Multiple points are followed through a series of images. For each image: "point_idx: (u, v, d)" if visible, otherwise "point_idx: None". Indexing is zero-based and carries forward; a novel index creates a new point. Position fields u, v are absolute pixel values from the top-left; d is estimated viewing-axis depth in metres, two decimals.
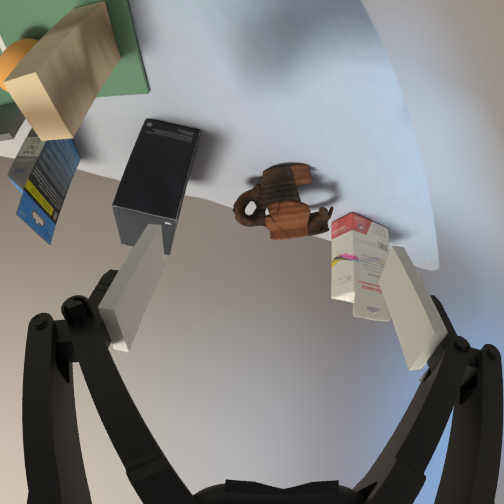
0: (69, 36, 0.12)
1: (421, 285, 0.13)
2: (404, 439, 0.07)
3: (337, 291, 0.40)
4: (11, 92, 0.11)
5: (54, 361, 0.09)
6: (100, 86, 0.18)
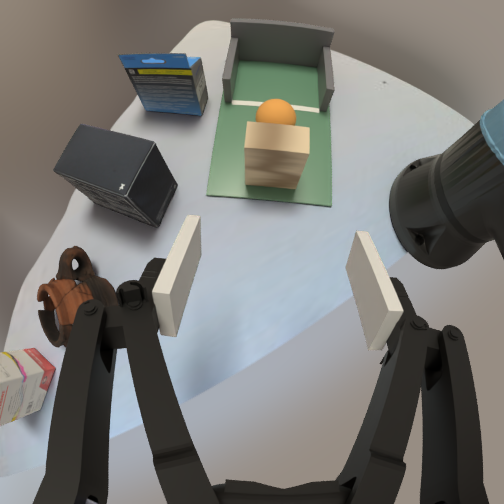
0: (301, 171, 0.30)
1: (380, 266, 0.14)
2: (375, 430, 0.08)
3: None
4: (299, 127, 0.27)
5: (99, 350, 0.10)
6: (247, 170, 0.32)
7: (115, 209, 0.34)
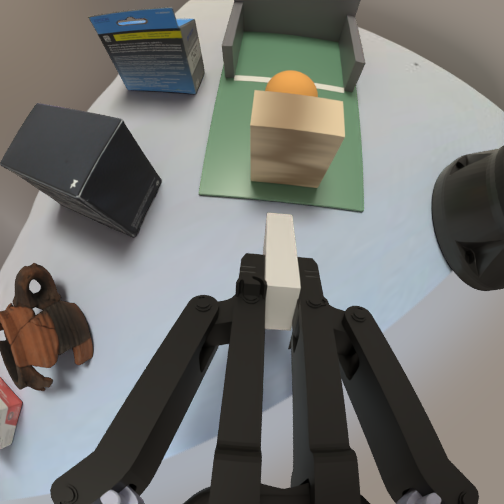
0: (328, 162, 0.21)
1: (291, 246, 0.15)
2: (307, 426, 0.08)
3: None
4: (328, 101, 0.18)
5: (200, 349, 0.10)
6: (253, 160, 0.23)
7: (82, 213, 0.25)
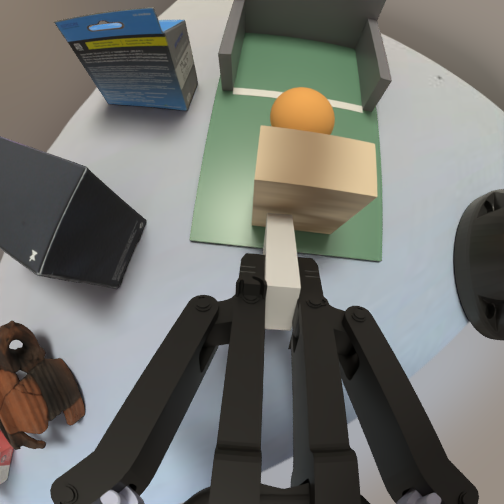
0: (349, 216, 0.18)
1: (291, 246, 0.15)
2: (307, 426, 0.08)
3: None
4: (357, 143, 0.14)
5: (200, 349, 0.10)
6: (256, 210, 0.19)
7: None
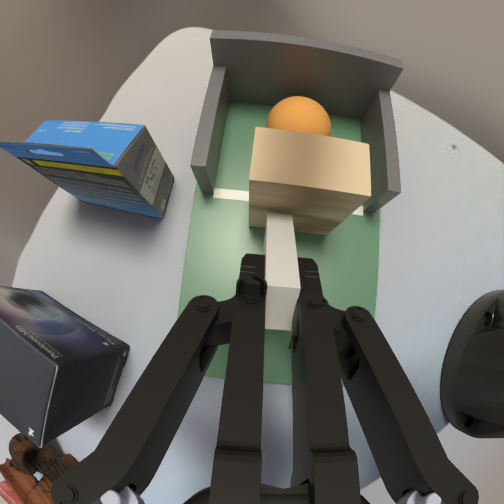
0: (344, 216, 0.18)
1: (291, 246, 0.15)
2: (307, 426, 0.08)
3: None
4: (351, 143, 0.14)
5: (200, 349, 0.10)
6: (252, 211, 0.19)
7: None
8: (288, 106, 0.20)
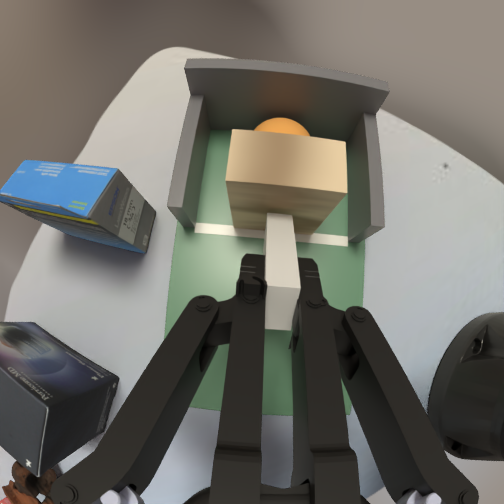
0: (325, 215, 0.18)
1: (291, 246, 0.15)
2: (307, 426, 0.08)
3: None
4: (327, 142, 0.15)
5: (200, 349, 0.10)
6: (234, 212, 0.19)
7: None
8: (268, 124, 0.20)
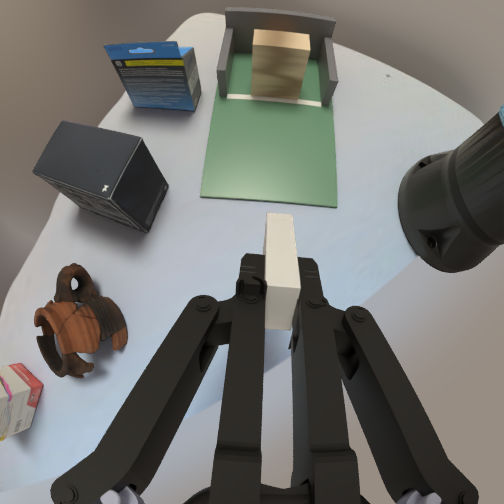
0: (303, 73, 0.30)
1: (291, 246, 0.15)
2: (307, 426, 0.08)
3: None
4: (300, 34, 0.26)
5: (200, 349, 0.10)
6: (253, 74, 0.31)
7: (101, 213, 0.30)
8: None
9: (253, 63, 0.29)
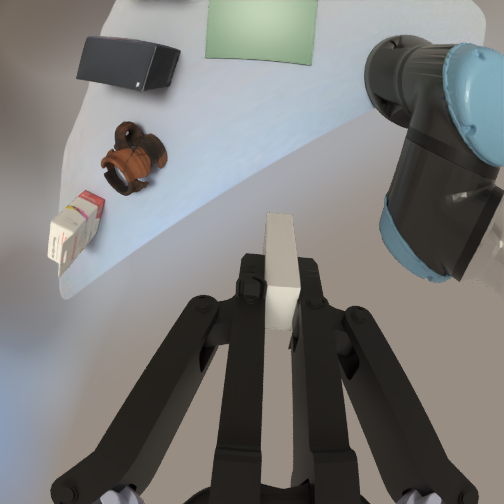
0: None
1: (291, 246, 0.15)
2: (307, 426, 0.08)
3: (60, 222, 0.41)
4: None
5: (200, 349, 0.10)
6: None
7: None
8: None
9: None
